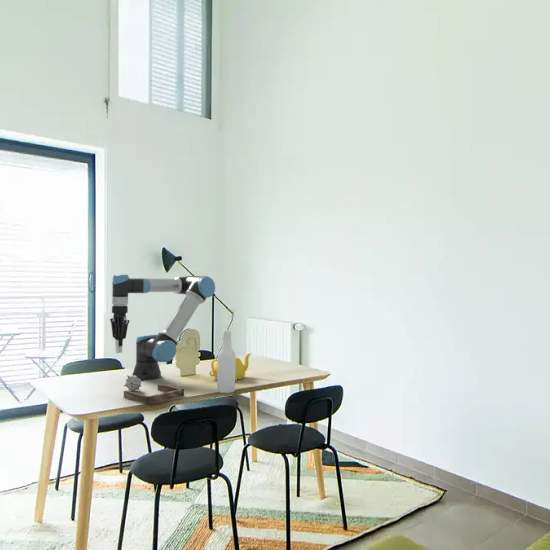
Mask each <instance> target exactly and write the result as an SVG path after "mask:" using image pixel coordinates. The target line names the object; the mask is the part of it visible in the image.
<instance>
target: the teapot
mask: <svg viewBox="0 0 550 550" xmlns="http://www.w3.org/2000/svg"><path fill="white" fill-rule="evenodd" d="M251 355H252V352H249V353H247V354H246V355H245V357H244V360H243V361H244V362H242V360H241V359H240V357H239V356H236V363H235V380H236V379H241V378H242V379H243V378H244V377H245V376H246V371H247V370H248V369H249V358H250V356H251ZM215 362H216V363H215ZM210 363H211V364H210V366H211V371H209V376H210V377H214V378H215V379H216V380H217V365H218V358H215V359H213V360H212V361H211V362H210ZM214 364H215V365H214ZM242 379H241V380H242ZM236 381H237V380H236Z"/></svg>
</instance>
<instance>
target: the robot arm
mask: <svg viewBox="0 0 550 550" xmlns="http://www.w3.org/2000/svg"><path fill="white" fill-rule="evenodd" d="M111 284H112V295H111V297H112V298H111V299H112V303H111V304H112V306H111V313H112V314H113V317H112V318H109V321H110V324H111V325H110V326H111V333H112V335H111V336H112V338H113V339H114V340H115V353H116V354H122V353H123V342H124V341H123V340H124V339H126V338H127V332H128V327H129V324H130V319H127V314H128V312H129V307H128V305H129V294H149V293H174V294H176V295H186V296H185V297H184V299H183V301H182V302H181V304H180V305H179V306H178V308H177V310H176V311H175V313H174V314H173V316H172V318H171V319H170V320H169V321H168V323H167V325H166V327H165V328H164V330H163V331H160V332H158V333H157V334H148V335H138V336H137V338H136V342H135V346H136V347H135V348H136V349H135V350H136V351H135V353H136V354H135V355H136V356H135V366H134V369H133V372H132V376H134V375H135V374H136V376H139V378H140V379H141V380H143V381H144V380H156V379H159V378H161V377H162V371H161V369H160V366H159V363H167V362H170V361H172V360H173V359H174V357H175V356H176V355H177V351H178V350H177V346H178V344H179V342H178V339H179V338H180V336H181V334H182V332H183V331H184V329H185V327H186V326H187V325H188V323H189V321H190V320H191V318H192V316H193V315H194V313H196V310H197V309H198V307H199V306H200V304H201V305H202V304H204V302H205V301H206V299H207V298H210V297H212V296H213V295H214V294H215V291H216V284H215V281H214V280H213V278H211V277H210V276H206V275H188V276H177V277H174V278H152V277H151V278H149V277H148V278H141V277H139V278H137V277H131V278H130V276H129V275H128V274H121V273H119V274H113V277H112V283H111Z"/></svg>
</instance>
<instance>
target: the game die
mask: <svg viewBox="0 0 550 550" xmlns="http://www.w3.org/2000/svg"><path fill="white" fill-rule="evenodd" d="M142 382H144V380H142V379H140V378H139V376H136V374H135V375H134V376H133V375H130V376H129V375H127V379H126V382H125V384H124V385H123V387H126V388H128V391H130V392H134V391H137V390H138V391H139V390H140V387H142Z"/></svg>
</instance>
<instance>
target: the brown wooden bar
mask: <svg viewBox="0 0 550 550" xmlns="http://www.w3.org/2000/svg"><path fill="white" fill-rule="evenodd" d="M158 390H159V391H160V392H162V391H163V392H162V393H156V394H153V395H145V394H141V393H138V392H134V391H133V392H132V391H131V390H124V391H123V398H124V397H125V398H124V399H127V398H128V400H131V401H135V402H138V403H143V404H146V405H150V404H154V403H158V402H164V401H167V400H171V399H177V398H180V397H181V398H182V397H184V396H185V389H184V388H180V387H177V386H171V385H168V384H162V383H157V391H158Z"/></svg>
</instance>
